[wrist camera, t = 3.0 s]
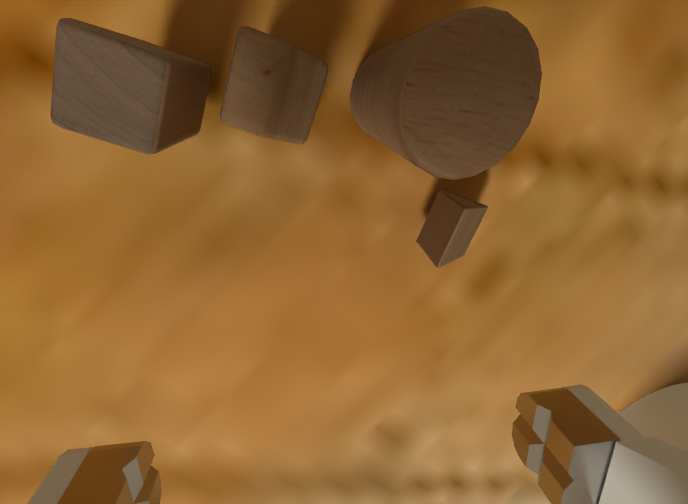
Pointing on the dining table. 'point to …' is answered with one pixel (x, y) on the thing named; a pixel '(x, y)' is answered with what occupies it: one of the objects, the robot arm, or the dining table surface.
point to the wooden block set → (304, 93)
